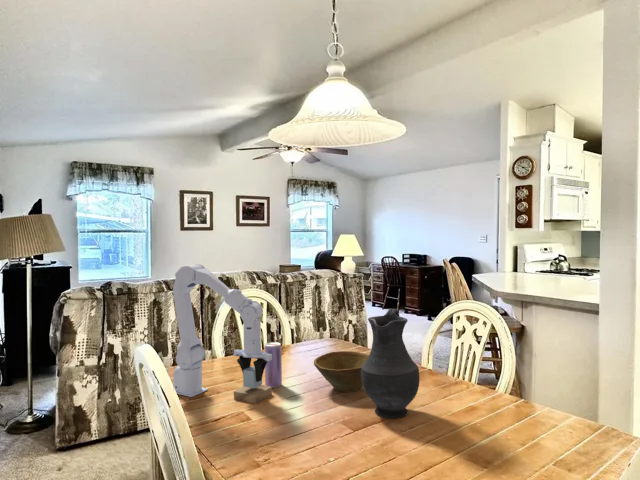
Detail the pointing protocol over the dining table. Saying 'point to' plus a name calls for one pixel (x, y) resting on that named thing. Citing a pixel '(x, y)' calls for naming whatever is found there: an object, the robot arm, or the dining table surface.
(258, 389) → the tan block
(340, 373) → the bowl
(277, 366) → the beverage can
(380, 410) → the pitcher
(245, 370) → the pale grey-blue block
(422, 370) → the dining table surface
